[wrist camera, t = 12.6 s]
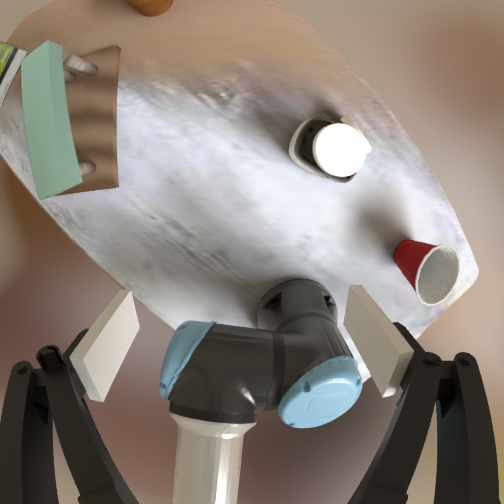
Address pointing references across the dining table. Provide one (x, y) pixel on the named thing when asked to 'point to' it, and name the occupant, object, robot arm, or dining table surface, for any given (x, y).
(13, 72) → the tea box
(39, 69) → the shelf board
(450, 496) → the robot arm
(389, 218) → the dining table surface
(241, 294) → the dining table surface
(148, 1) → the disposable coffee cup
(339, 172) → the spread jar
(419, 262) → the plastic cup
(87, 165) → the peg rack
